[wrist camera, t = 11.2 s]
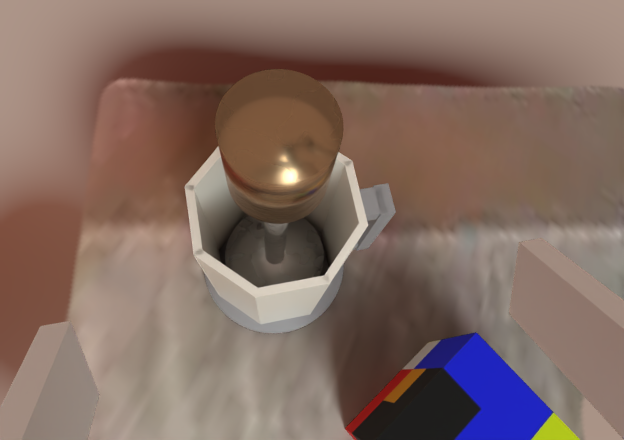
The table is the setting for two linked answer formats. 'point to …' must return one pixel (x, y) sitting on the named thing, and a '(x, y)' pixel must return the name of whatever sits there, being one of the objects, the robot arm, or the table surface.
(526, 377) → the table surface
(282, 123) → the plunger
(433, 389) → the puzzle toy
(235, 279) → the jug
